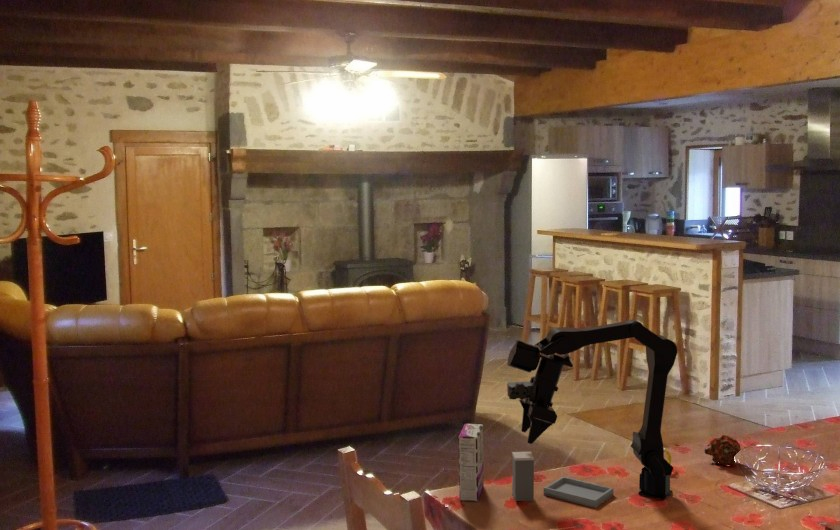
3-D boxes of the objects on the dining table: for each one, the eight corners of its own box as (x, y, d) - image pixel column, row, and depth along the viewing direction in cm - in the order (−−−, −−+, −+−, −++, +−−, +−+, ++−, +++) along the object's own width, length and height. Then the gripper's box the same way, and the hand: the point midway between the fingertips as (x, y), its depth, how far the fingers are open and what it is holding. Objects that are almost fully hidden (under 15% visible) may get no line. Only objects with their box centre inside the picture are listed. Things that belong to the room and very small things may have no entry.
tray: (613, 495, 201) (613, 488, 201) (595, 507, 193) (595, 500, 193) (563, 483, 210) (563, 476, 210) (543, 494, 202) (543, 487, 202)
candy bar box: (464, 484, 209) (464, 422, 208) (484, 486, 208) (483, 423, 207) (458, 501, 198) (457, 435, 197) (478, 502, 197) (478, 436, 196)
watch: (654, 473, 217) (652, 452, 217) (648, 470, 220) (647, 448, 219) (673, 469, 219) (672, 448, 218) (667, 466, 222) (666, 445, 221)
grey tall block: (530, 494, 202) (530, 451, 201) (534, 501, 198) (534, 457, 197) (511, 494, 202) (512, 452, 201) (515, 502, 197) (515, 458, 196)
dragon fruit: (733, 477, 217) (712, 469, 229) (756, 457, 218) (733, 449, 230) (714, 452, 217) (693, 445, 228) (737, 432, 218) (716, 426, 230)
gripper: (510, 360, 207) (490, 417, 208) (521, 377, 188) (500, 439, 189) (551, 373, 207) (531, 430, 209) (566, 391, 189) (545, 453, 190)
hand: (526, 437), depth 199 cm, fingers open, 9 cm apart
